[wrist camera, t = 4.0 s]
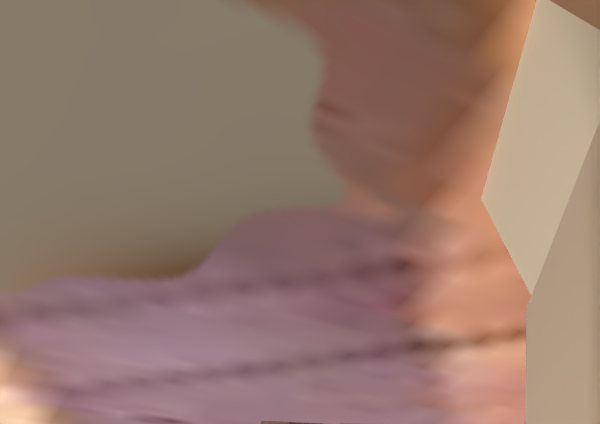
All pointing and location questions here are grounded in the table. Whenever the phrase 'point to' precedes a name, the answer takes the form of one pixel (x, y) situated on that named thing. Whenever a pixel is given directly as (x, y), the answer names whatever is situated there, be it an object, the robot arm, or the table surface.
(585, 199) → the lid flap
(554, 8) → the carton
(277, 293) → the table surface
